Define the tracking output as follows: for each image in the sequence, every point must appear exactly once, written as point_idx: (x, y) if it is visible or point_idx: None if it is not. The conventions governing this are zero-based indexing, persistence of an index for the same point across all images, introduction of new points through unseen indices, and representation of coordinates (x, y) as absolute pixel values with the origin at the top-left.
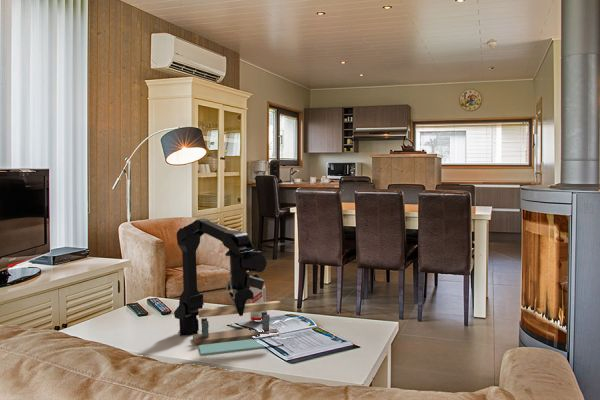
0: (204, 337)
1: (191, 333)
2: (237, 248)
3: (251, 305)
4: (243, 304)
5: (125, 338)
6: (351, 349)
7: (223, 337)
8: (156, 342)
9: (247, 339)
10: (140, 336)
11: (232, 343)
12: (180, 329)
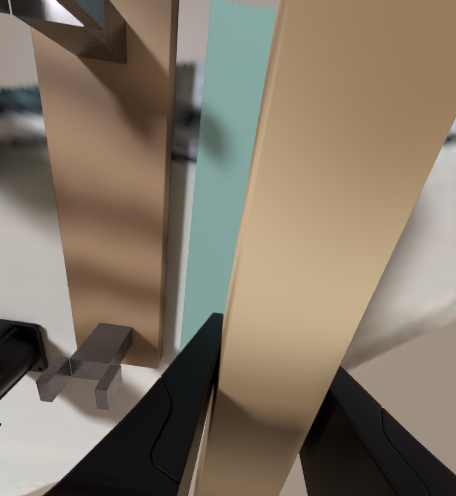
0: (131, 340)
1: (39, 345)
2: None
3: (368, 298)
4: (410, 466)
5: (35, 456)
6: None
7: (152, 284)
8: (91, 418)
9: (169, 183)
10: (25, 434)
11: (214, 263)
12: (18, 381)
